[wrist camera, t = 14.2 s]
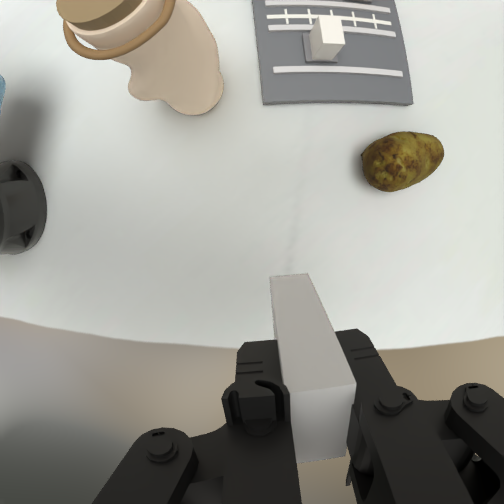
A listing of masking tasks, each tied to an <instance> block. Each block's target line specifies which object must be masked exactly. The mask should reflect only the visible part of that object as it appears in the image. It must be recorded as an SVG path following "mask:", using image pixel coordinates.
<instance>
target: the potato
mask: <svg viewBox="0 0 504 504" xmlns="http://www.w3.org/2000/svg"><path fill="white" fill-rule="evenodd" d="M361 156H362V162H363V172H364V176H365V178H366V179H367V181H368V183H369V184H370V185H372V186H373V187H375V188H377V189H379V190H381V191H385V192H394V191H398V190H401V189H405V188H407V187H410V186H412V185H414V184H416V183H418V182H420V181H422V180H424V179H425V178H427V177H428V176H429V175H431V174H432V173H433V172H434V171H435V170H436V169H437V167H438V166H439V165H440V163H441V162H442V160H443V157H444V149H443V146H442V144H441V142H440V141H439V140H438V139H437V138H436V137H434V136H433V135H429V134H422V133H416V132H396V133H392V134H390V135H388V136H386V137H383V138H381V139H378V140H376V141H374V142H373V143H371V144H370V145H369V146H368V147H367V148H366V149H365V150H364V152H363V153H362V154H361Z"/></svg>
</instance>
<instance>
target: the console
mask: <svg viewBox="0 0 504 504" xmlns="http://www.w3.org/2000/svg"><path fill="white" fill-rule="evenodd" d="M252 4H253V13H254V21H255V30H256V39H257V48H258V58H259V67H260V77H261V87H262V97H263V105H268V104H286V103H326V102H334V103H373V104H390V105H404V106H408V105H412V104H413V96H412V88H411V81H410V74H409V68H408V62H407V56H406V50H405V45H404V40H403V35H402V31H401V26H400V22H399V17H398V13H397V9H396V5H395V2H394V0H372V3H371V4H368V3H360V2H350V1H343V0H252ZM318 15H329V16H340V17H341V23H342V28H343V34H344V39H345V45H344V46H343V47H342V48H341V50H340V51H339V52H338V53H337V57H338V62H337V63H305V57H304V49H303V42H302V33H310V32H311V30H312V27H313V25H314V23H315V21H316V19H317V17H318Z"/></svg>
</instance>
